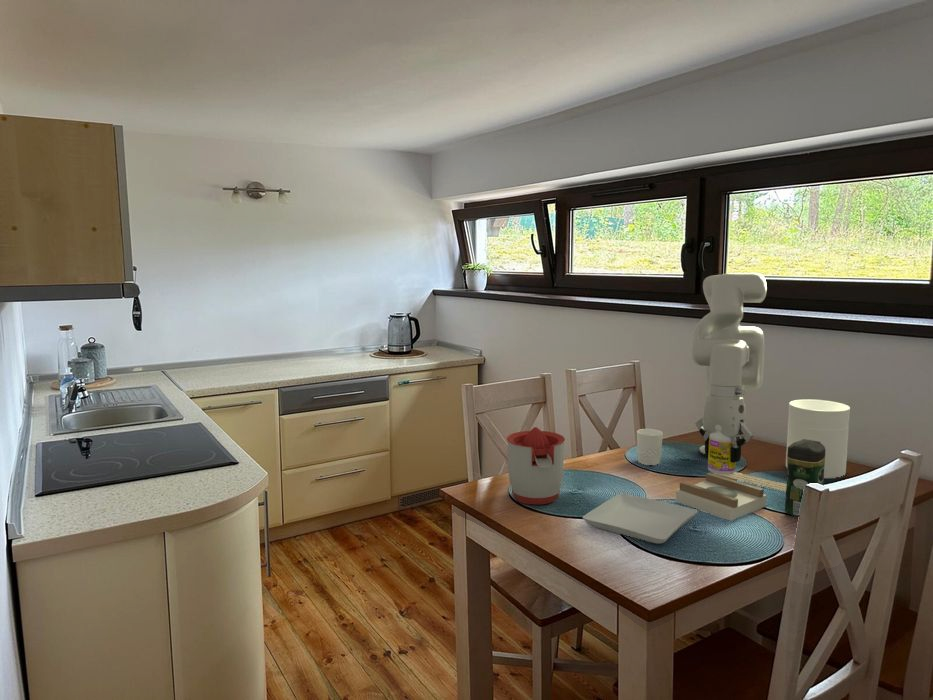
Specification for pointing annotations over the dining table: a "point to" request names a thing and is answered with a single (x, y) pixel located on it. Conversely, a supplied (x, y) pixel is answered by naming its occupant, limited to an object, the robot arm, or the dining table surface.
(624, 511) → the salad plate
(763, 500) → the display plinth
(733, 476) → the wooden plank
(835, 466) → the canister
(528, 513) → the dining table surface
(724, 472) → the supplement bottle
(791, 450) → the coffee jar
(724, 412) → the robot arm
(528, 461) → the citrus juicer
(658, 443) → the white cup
